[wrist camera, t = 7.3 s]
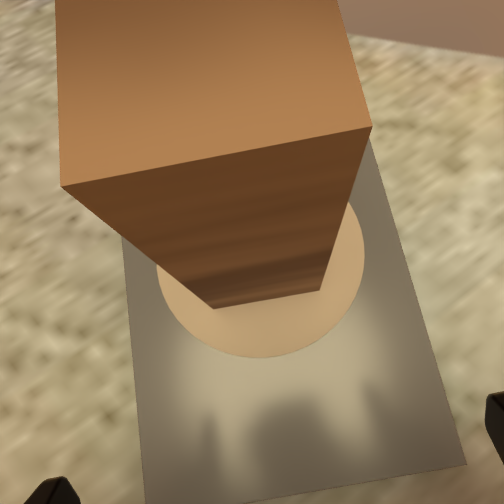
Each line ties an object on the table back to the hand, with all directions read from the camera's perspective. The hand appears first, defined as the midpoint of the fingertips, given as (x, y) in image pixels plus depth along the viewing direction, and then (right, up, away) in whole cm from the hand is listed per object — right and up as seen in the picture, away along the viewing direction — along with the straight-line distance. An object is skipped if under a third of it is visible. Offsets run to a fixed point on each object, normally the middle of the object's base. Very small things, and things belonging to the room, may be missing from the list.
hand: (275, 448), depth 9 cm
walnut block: (0, +4, +9) cm, 10 cm away
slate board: (0, +1, +10) cm, 10 cm away
